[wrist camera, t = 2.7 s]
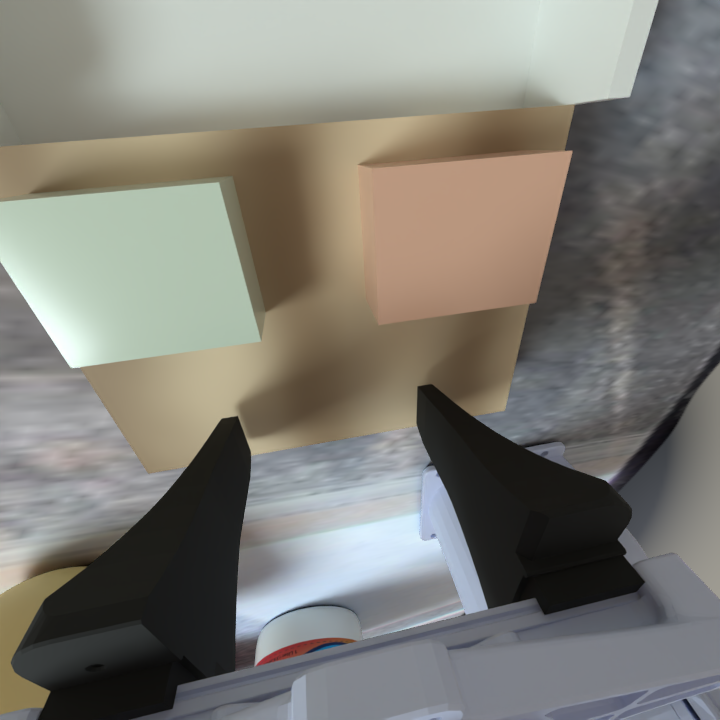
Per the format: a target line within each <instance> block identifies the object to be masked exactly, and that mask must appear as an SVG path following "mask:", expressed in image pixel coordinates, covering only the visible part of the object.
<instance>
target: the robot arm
mask: <svg viewBox="0 0 720 720" xmlns="http://www.w3.org/2000/svg"><path fill="white" fill-rule="evenodd" d="M416 424H417V427H418V430H419V433H420V436H421V438H422V441H423V444H424V446H425V448H426V450H427V452H428V454H429V456H430V459H431V461H432V463H433V466H429V467H427V468H425V469H424V471H423V479H422V496H421V514H420V531H419V534H420V537H421V539H422V540H431V539H436V538H438V541H439V544H440V546H441V549H442V552H443V554H444V557H445V560H446V562H447V565H448V568H449V571H450V573H451V576H452V579H453V581H454V584H455V587H456V589H457V592H458V595H459V597H460V600H461V603H462V605H463V608H464V611H465V613H466V615H463V616H459V617H455V618H451V619H446V620H442V621H438V622H434V623H430V624H426V625H422V626H418V627H414V628H410V629H406V630H402V631H397V632H393V633H389V634H385V635H381V636H377V637H373V638H369V639H365V640H361V641H357V642H353V643H349V644H344V645H340V646H336V647H332V648H328V649H324V650H320V651H316V652H312V653H308V654H304V655H300V656H296V657H291V658H287V659H283V660H279V661H275V662H271V663H267V664H263V665H259V666H255V667H251V668H247V669H243V670H238V671H235V629H236V597H237V576H238V560H239V545H240V537H241V530H242V524H243V518H244V512H245V506H246V500H247V494H248V488H249V482H250V471H251V450H250V448H249V445H248V442H247V439H246V437H245V434H244V431H243V429H242V426H241V423H240V420H239V418H238V416H234V417H228V418H222V419H221V420H220V421H219V423H218V424H217V426H216V427H215V429H214V430H213V432H212V433H211V435H210V436H209V438H208V439H207V440H206V442H205V443H204V445H203V446H202V448H201V449H200V450H199V452H198V453H197V455H196V456H195V457H194V459H193V460H192V461H191V463H190V464H189V465H188V467H187V468H186V469H185V471H184V472H183V473H182V474H181V476H180V477H179V478H178V479H177V481H176V482H175V483H174V484H173V486H172V487H171V488H170V489H169V490H168V491H167V493H166V494H165V495H164V496H163V497H162V498H161V499H160V500H159V501H158V502H157V503H156V505H155V506H154V507H153V508H152V509H151V510H150V511H149V512H148V513H147V514H146V515H145V516H144V517H143V518H142V519H141V520H140V521H138V522H137V523H136V524H135V525H134V526H133V527H132V528H131V529H130V530H129V531H128V532H127V533H126V534H125V535H124V536H123V537H122V538H121V539H119V540H118V541H117V542H116V543H115V544H114V545H113V546H111V547H110V548H109V549H108V550H107V551H106V552H104V553H103V554H102V555H101V556H100V557H98V558H97V559H96V560H95V561H94V562H92V563H91V564H90V565H89V566H87V567H86V568H85V569H84V570H82V571H81V572H80V573H78V574H77V575H76V576H74V577H73V578H72V579H71V580H69V581H68V582H67V583H65V584H64V585H63V586H61V587H60V588H59V589H57V590H56V591H55V592H54V593H52V594H51V595H49V596H48V597H47V598H45V599H44V601H43V603H42V604H41V606H40V608H39V610H38V611H37V613H36V615H35V617H34V619H33V620H32V622H31V624H30V626H29V628H28V630H27V631H26V633H25V635H24V637H23V639H22V641H21V643H20V644H19V646H18V648H17V650H16V652H15V654H14V655H13V658H12V660H11V665H12V668H13V670H14V672H15V673H16V674H18V675H19V676H21V677H22V678H24V679H26V680H28V681H30V682H32V683H34V684H36V685H39V686H41V687H43V688H45V689H47V690H49V691H51V692H50V694H49V696H48V698H47V701H46V703H45V705H44V707H43V708H26V709H21V710H17V711H13V712H9V713H5V714H0V720H720V599H719V598H718V597H717V596H716V595H715V594H714V593H713V592H712V591H711V590H710V589H709V588H708V586H707V585H706V584H704V582H703V581H702V580H701V579H700V578H699V577H698V576H697V575H696V574H695V573H694V572H693V571H692V570H691V569H690V568H689V566H688V565H687V564H685V562H684V561H683V560H682V559H681V558H680V557H679V556H678V555H677V554H675V553H669V554H665V555H660V556H656V557H652V558H648V557H647V555H646V554H645V552H644V550H643V549H642V547H641V546H640V545H639V543H638V542H637V540H636V539H635V538H634V537H633V535H632V534H631V533H630V532H629V531H628V529H627V528H626V526H627V525H628V524H629V521H630V519H631V516H632V509H631V507H630V506H629V505H628V504H627V502H625V500H624V499H623V498H622V497H621V496H620V495H619V494H618V493H617V492H616V491H615V490H614V489H613V488H612V487H611V485H609V484H608V483H607V482H606V481H605V480H602V479H599V478H596V477H593V476H590V475H587V474H585V473H582V472H579V471H576V470H575V469H574V468H573V467H572V466H571V465H570V464H569V462H568V461H567V460H566V459H565V458H564V457H563V454H564V452H565V448H566V447H565V446H564V445H563V444H562V443H561V442H553V443H548V444H543V445H537V446H532V447H527V448H523V447H521V446H519V445H517V444H515V443H514V442H512V441H510V440H508V439H507V438H505V437H503V436H501V435H500V434H498V433H496V432H495V431H493V430H492V429H490V428H489V427H487V426H486V425H484V424H483V423H481V422H480V421H478V420H477V419H475V418H474V417H473V416H471V415H470V414H469V413H467V412H466V411H465V410H463V409H462V408H461V407H460V406H458V405H457V404H456V403H454V402H453V401H452V400H451V399H450V398H448V397H447V396H446V395H445V394H444V393H442V392H441V391H440V390H439V389H438V388H436V387H435V386H434V385H433V384H428V385H422V386H417V416H416Z"/></svg>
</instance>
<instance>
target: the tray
mask: <svg viewBox="0 0 720 720" xmlns="http://www.w3.org/2000/svg"><path fill="white" fill-rule="evenodd" d="M658 1H659V0H0V147H1V146H14V145H28V144H42V143H55V142H69V141H83V140H96V139H110V138H124V137H137V136H151V135H165V134H178V133H192V132H206V131H219V130H233V129H247V128H260V127H274V126H287V125H301V124H315V123H328V122H342V121H356V120H369V119H383V118H397V117H410V116H424V115H438V114H451V113H465V112H479V111H492V110H506V109H520V108H533V107H547V106H561V105H574V104H575V105H580V104H586V103H593V102H600V101H607V100H613V99H620V98H627V97H630V94H631V91H632V88H633V84H634V81H635V78H636V74H637V71H638V68H639V64H640V61H641V58H642V54H643V51H644V47H645V44H646V41H647V37H648V34H649V31H650V27H651V24H652V21H653V17H654V14H655V11H656V7H657V4H658Z"/></svg>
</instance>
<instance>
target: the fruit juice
mask: <svg viewBox="0 0 720 720" xmlns="http://www.w3.org/2000/svg"><path fill="white" fill-rule="evenodd" d="M361 640H363V635H362V630H361V626H360V622H359V620H358V617H357V616H356V614H355V613H354V612H352V611H350V610H348V609H346V608H342V607H337V606H316V607H309V608H304V609H299V610H296V611H292V612H289V613H287V614H284V615H282V616H280V617H278V618H276V619H274V620H273V621H271V622H270V623H268V624H267V625H266V626H265V627H264V628H263V629H262V631H261V632H260V635H259V637H258V641H257V646H256V652H255V666H259V665H263V664H267V663H271V662H275V661H279V660H283V659H287V658H291V657H296V656H300V655H304V654H308V653H312V652H316V651H320V650H324V649H328V648H332V647H336V646H340V645H344V644H349V643H353V642H357V641H361ZM255 666H254V667H255Z"/></svg>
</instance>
